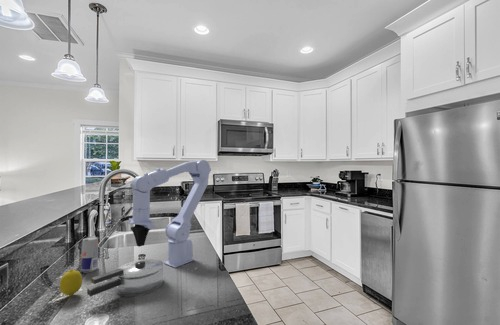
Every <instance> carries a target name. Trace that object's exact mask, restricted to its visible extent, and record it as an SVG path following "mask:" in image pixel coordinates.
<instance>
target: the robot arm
mask: <svg viewBox="0 0 500 325" xmlns="http://www.w3.org/2000/svg"><path fill="white" fill-rule="evenodd" d="M211 171H212V169H211V166H210V163H209V162H208V161H207V160H205V159H201V160H190V161H185V162H183V163H180V164H178V165H175V166H173V167H171V168H168V169H164V168H160V167H159V168H155V170H154V171H151V172H145V173H143V175H140V176H139V175H137V176H135V177H134V178H133V179H132V181H131V183H130V187H131V189H132V190H133V192H132V217H129V218H128V224H129V225H134V226H131V227H130V230H131V231H132V233H133V236H134V239H135V244H136V246H137V247H139V248H140V247H144V246H145V245H146V244H145V243H146V240H147V236H148V233H149V232H150V230H151V229H154V228H155V222H153V221H152V220H151V219H150V217H151V216H150V213H151V212H150V211H151V210H150V209H151V207H150V205H151V202H150V200H151V195H150V194H151V191H152V189H153V188H156V187H158V186H161V185H163V184H165V183H167V182H169V181H170V178H172V177H175V176H178V175H181V174H183V173H189V175H190V177H191V178H192V180H193V182H194V183H193V185H192V188H191V189H190V191H189V193H188V195H187V198H186V199H185V201H184V203H183V205H182V207H181V209H180V211H179V213H178V214H177V215H176V216H175V217H173V219H172V220H171V222H170V223H168V224H167V226H166V227H165V233H164V234H165V236H166V237H167V258H168V259H167V260H165V261H163V264H164V265H166V266H170V267H172V268H175V269H176V268H179V267H180V266H183V265H185V264H188V263H191V262H193V261H194V260H195V259H194V257H193V255H194V254H193V250H194V248H193V242H192V240H191V239H190V231H191V228H192V223H191V219H192V217H193V215H194V214H195V211H196V209H197V207H198V206H199V203H200V201H201V200H202V199H201V198H202V197H203V194H204V193H205V191H206V188H207V187H208V185H209V176H210V173H211Z"/></svg>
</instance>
